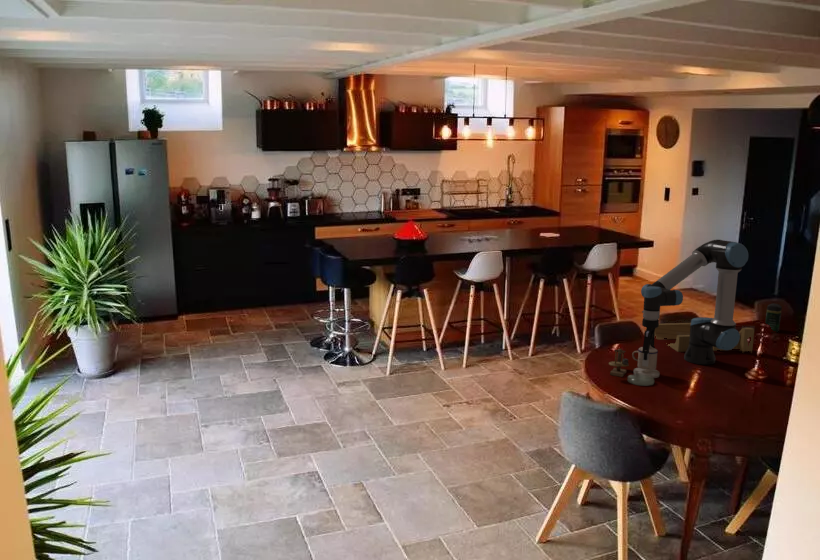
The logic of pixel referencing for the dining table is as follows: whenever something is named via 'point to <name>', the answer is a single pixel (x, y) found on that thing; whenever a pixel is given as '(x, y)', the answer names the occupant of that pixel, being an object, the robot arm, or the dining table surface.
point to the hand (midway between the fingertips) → (647, 363)
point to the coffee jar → (773, 316)
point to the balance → (619, 364)
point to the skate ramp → (683, 334)
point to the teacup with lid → (652, 358)
